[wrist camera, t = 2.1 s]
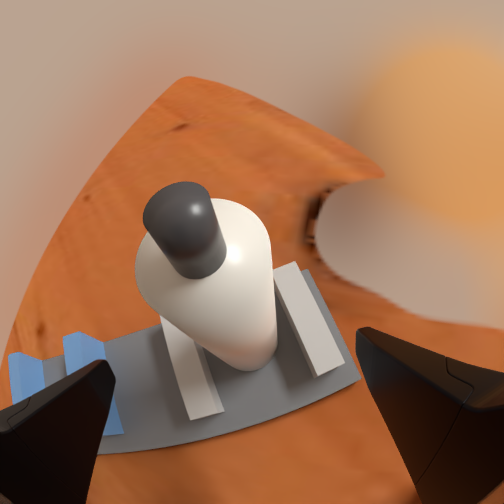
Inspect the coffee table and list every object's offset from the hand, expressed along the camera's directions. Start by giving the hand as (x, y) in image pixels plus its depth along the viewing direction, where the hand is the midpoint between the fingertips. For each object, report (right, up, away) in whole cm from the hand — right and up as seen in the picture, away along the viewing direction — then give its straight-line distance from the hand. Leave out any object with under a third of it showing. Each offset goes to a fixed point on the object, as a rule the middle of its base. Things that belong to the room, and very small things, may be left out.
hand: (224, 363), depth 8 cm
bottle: (+1, -2, +9) cm, 10 cm away
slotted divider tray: (-6, -6, +9) cm, 13 cm away
